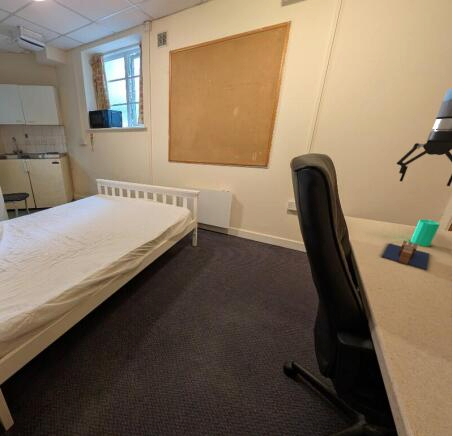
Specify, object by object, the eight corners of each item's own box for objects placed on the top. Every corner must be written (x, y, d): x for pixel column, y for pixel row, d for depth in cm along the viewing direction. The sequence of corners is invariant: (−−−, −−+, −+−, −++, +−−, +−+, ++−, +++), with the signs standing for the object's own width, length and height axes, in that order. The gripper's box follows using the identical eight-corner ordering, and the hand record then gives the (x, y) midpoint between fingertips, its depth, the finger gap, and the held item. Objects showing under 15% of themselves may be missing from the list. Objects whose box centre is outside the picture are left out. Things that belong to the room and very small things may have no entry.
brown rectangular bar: (410, 264, 83) (414, 254, 81) (395, 260, 86) (399, 250, 84) (413, 253, 91) (418, 243, 89) (400, 249, 94) (403, 240, 92)
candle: (411, 239, 104) (421, 215, 100) (430, 243, 100) (442, 219, 95) (409, 242, 101) (420, 218, 96) (429, 247, 96) (441, 222, 92)
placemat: (388, 244, 100) (389, 243, 99) (428, 254, 91) (429, 253, 91) (381, 257, 89) (381, 256, 89) (426, 270, 80) (426, 269, 80)
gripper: (498, 130, 81) (470, 186, 88) (401, 131, 99) (385, 178, 106) (501, 129, 76) (471, 189, 84) (399, 131, 95) (382, 180, 102)
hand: (423, 183), depth 95 cm, fingers open, 13 cm apart
